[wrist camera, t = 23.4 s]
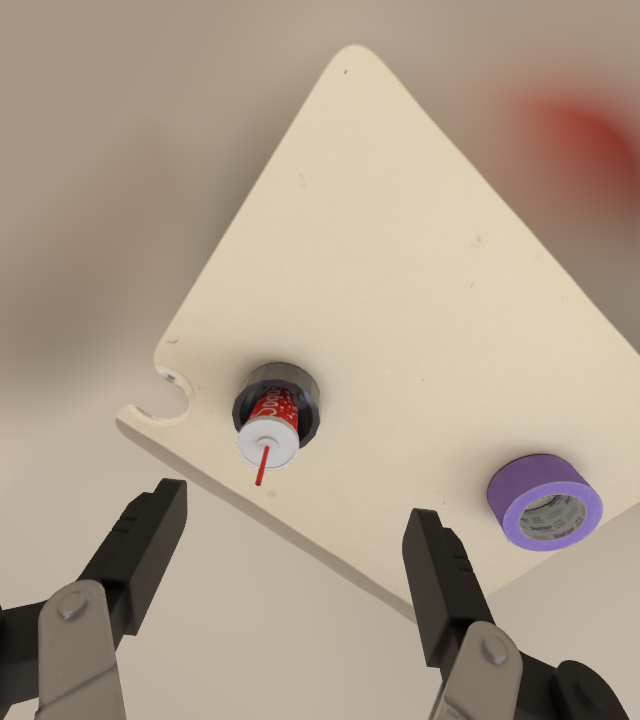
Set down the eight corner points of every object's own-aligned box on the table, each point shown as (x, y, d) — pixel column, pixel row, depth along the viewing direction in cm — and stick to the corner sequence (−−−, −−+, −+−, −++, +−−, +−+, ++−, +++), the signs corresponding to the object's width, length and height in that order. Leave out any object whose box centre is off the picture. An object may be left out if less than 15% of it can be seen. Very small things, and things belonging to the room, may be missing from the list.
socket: (234, 419, 44) (224, 441, 40) (251, 352, 40) (242, 368, 36) (307, 439, 45) (305, 462, 41) (330, 375, 41) (330, 393, 37)
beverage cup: (307, 381, 41) (298, 458, 28) (301, 424, 43) (290, 515, 30) (255, 374, 41) (222, 449, 28) (252, 418, 43) (220, 506, 30)
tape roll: (508, 532, 51) (527, 565, 46) (471, 481, 47) (487, 510, 42) (589, 496, 48) (617, 527, 43) (556, 438, 44) (582, 465, 39)
